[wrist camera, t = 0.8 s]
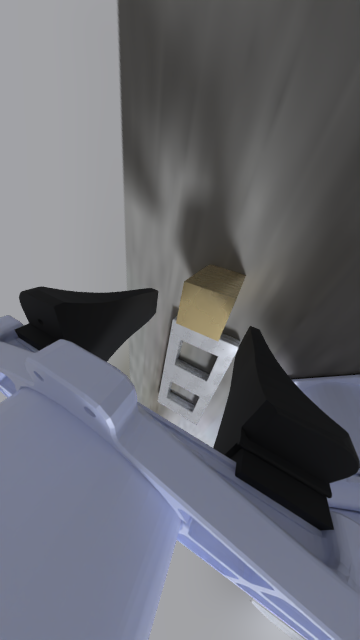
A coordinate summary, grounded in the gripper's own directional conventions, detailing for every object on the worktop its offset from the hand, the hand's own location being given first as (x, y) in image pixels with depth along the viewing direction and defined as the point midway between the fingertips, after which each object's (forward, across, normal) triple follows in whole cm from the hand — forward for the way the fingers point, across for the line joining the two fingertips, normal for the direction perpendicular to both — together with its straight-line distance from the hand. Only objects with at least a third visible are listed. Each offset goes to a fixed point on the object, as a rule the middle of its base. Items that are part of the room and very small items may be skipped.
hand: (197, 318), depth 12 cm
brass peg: (+8, 0, 0) cm, 8 cm away
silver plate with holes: (+8, 0, +17) cm, 18 cm away
